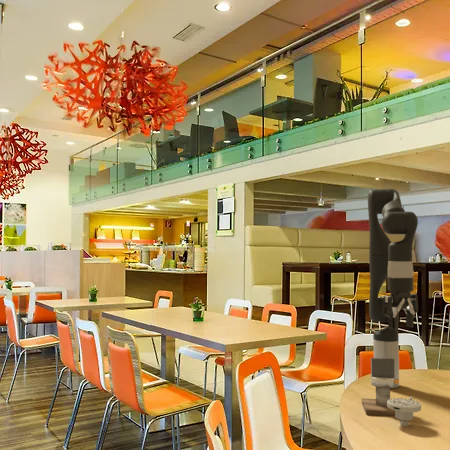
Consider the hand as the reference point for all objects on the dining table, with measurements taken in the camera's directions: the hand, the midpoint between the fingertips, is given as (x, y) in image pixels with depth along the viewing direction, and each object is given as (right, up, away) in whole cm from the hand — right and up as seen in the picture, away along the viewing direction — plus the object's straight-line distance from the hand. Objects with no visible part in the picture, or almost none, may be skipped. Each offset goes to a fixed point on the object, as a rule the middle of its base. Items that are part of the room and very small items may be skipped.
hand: (401, 328), depth 156 cm
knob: (-3, -19, +6) cm, 21 cm away
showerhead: (-2, -27, -9) cm, 28 cm away
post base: (-4, -27, +6) cm, 28 cm away
